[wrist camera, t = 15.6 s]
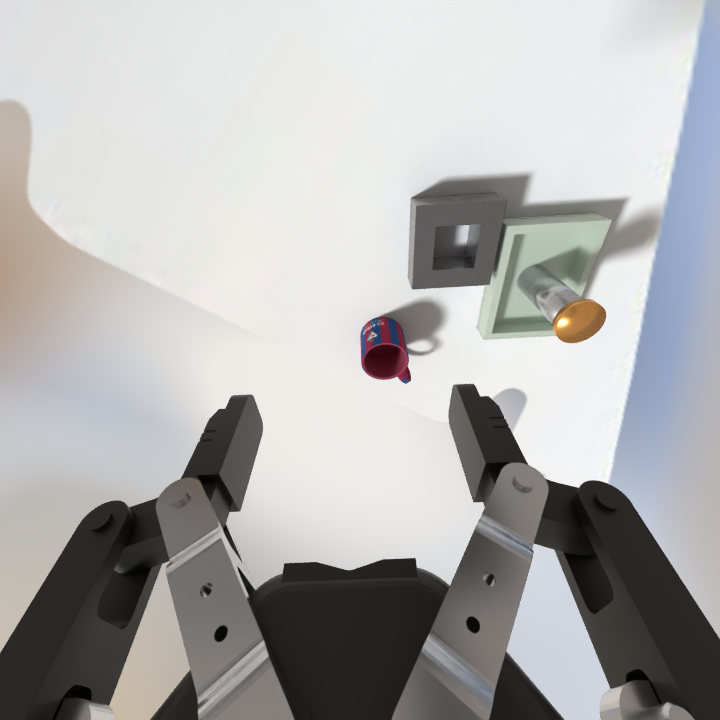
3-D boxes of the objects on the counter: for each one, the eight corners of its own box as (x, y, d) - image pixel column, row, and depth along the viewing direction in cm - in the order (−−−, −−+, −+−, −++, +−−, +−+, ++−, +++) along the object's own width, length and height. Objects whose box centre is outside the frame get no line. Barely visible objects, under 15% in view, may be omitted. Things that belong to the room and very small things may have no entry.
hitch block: (410, 198, 38) (416, 205, 35) (494, 192, 38) (507, 199, 35) (407, 276, 45) (412, 289, 41) (479, 272, 44) (489, 284, 41)
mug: (390, 309, 48) (394, 334, 42) (419, 354, 53) (426, 382, 48) (352, 329, 50) (352, 356, 44) (383, 371, 55) (387, 399, 50)
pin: (518, 262, 43) (565, 304, 33) (555, 260, 43) (614, 301, 33) (509, 296, 46) (550, 344, 36) (544, 294, 46) (595, 341, 36)
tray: (497, 218, 40) (508, 226, 37) (594, 212, 40) (612, 219, 37) (476, 327, 50) (483, 339, 47) (554, 323, 50) (565, 335, 47)
